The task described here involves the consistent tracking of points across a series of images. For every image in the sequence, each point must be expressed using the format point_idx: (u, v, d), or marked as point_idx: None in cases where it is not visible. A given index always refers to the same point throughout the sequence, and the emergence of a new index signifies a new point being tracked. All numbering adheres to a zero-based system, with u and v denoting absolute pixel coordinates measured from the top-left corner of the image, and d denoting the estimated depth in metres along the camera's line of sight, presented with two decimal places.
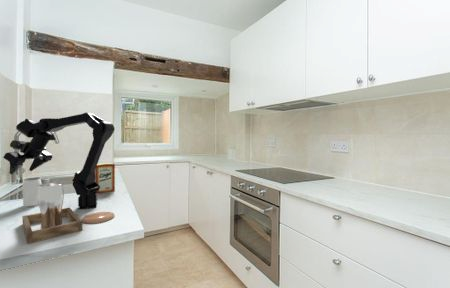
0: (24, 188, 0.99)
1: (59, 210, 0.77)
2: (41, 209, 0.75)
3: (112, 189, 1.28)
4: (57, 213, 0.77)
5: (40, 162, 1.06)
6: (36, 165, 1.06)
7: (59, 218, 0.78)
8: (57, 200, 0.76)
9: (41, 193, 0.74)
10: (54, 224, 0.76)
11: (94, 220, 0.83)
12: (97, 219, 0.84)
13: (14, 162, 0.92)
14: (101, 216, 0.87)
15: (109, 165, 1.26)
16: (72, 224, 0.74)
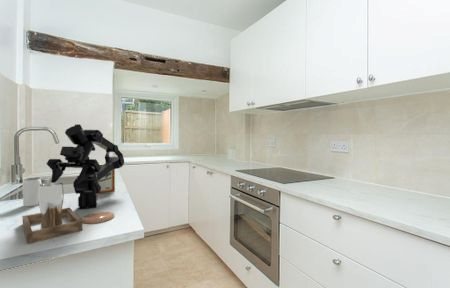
0: (24, 188, 0.99)
1: (59, 210, 0.77)
2: (41, 209, 0.75)
3: (112, 189, 1.28)
4: (57, 213, 0.77)
5: (61, 173, 0.90)
6: (58, 176, 0.88)
7: (59, 218, 0.78)
8: (57, 200, 0.76)
9: (41, 193, 0.74)
10: (54, 224, 0.76)
11: (94, 220, 0.83)
12: (97, 219, 0.84)
13: (99, 169, 0.93)
14: (101, 216, 0.87)
15: None
16: (72, 224, 0.74)
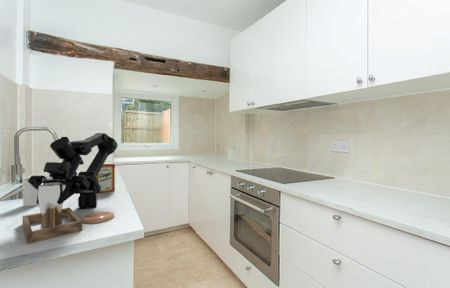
0: (24, 188, 0.99)
1: (59, 210, 0.77)
2: (41, 209, 0.75)
3: (112, 189, 1.28)
4: (57, 213, 0.77)
5: None
6: None
7: (59, 218, 0.78)
8: (57, 200, 0.76)
9: (41, 193, 0.74)
10: (54, 224, 0.76)
11: (94, 220, 0.83)
12: (97, 219, 0.84)
13: (88, 186, 0.84)
14: (101, 216, 0.87)
15: (109, 165, 1.26)
16: (72, 224, 0.74)
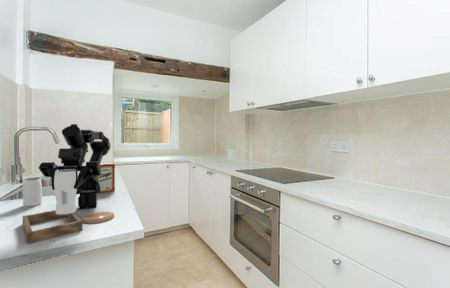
0: (24, 188, 0.99)
1: (74, 195, 0.80)
2: (58, 194, 0.76)
3: (112, 189, 1.28)
4: (72, 198, 0.79)
5: None
6: None
7: (74, 203, 0.80)
8: (73, 185, 0.79)
9: (59, 178, 0.76)
10: (70, 209, 0.78)
11: (94, 220, 0.83)
12: (97, 219, 0.84)
13: (100, 172, 0.87)
14: (101, 216, 0.87)
15: (109, 165, 1.26)
16: (72, 224, 0.74)
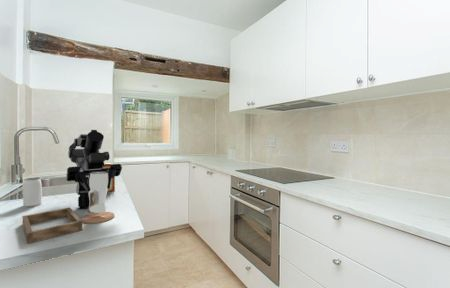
0: (24, 188, 0.99)
1: None
2: (95, 195, 0.83)
3: (112, 189, 1.28)
4: (105, 198, 0.87)
5: None
6: None
7: None
8: (107, 186, 0.87)
9: (98, 180, 0.83)
10: (104, 207, 0.86)
11: (94, 220, 0.83)
12: (97, 219, 0.84)
13: None
14: (101, 216, 0.87)
15: (109, 165, 1.26)
16: (72, 224, 0.74)
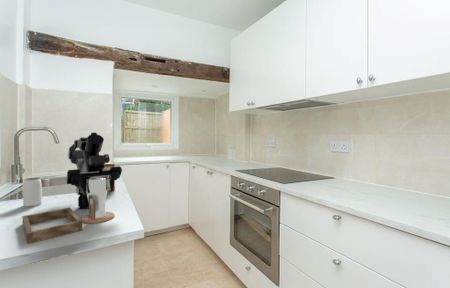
0: (24, 188, 0.99)
1: (105, 200, 0.88)
2: (95, 200, 0.83)
3: None
4: (104, 203, 0.87)
5: None
6: None
7: None
8: (106, 191, 0.87)
9: (96, 186, 0.83)
10: (104, 212, 0.86)
11: (94, 220, 0.83)
12: (97, 219, 0.84)
13: None
14: None
15: (109, 165, 1.26)
16: (72, 224, 0.74)
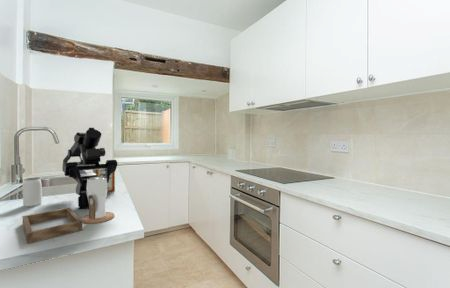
0: (24, 188, 0.99)
1: (105, 200, 0.88)
2: (95, 200, 0.83)
3: (112, 189, 1.28)
4: (104, 203, 0.87)
5: None
6: None
7: None
8: (106, 191, 0.87)
9: (96, 186, 0.83)
10: (104, 212, 0.86)
11: (94, 220, 0.83)
12: (97, 219, 0.84)
13: None
14: None
15: None
16: (72, 224, 0.74)
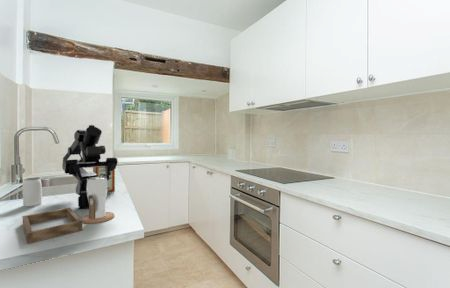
0: (24, 188, 0.99)
1: (105, 200, 0.88)
2: (95, 200, 0.83)
3: (112, 189, 1.28)
4: (104, 203, 0.87)
5: None
6: None
7: None
8: (106, 191, 0.87)
9: (97, 185, 0.83)
10: (104, 212, 0.86)
11: (94, 220, 0.83)
12: (97, 219, 0.84)
13: None
14: None
15: None
16: (72, 224, 0.74)
